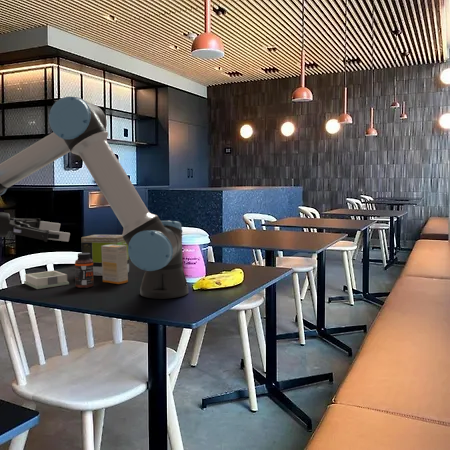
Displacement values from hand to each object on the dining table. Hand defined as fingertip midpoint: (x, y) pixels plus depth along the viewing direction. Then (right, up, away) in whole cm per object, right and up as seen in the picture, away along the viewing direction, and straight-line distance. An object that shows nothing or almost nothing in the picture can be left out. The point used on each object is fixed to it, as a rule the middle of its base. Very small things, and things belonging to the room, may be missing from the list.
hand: (64, 232), depth 162 cm
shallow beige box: (-9, -18, +10) cm, 22 cm away
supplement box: (+14, -18, +12) cm, 26 cm away
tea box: (+7, -16, +27) cm, 32 cm away
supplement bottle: (+5, -19, +5) cm, 20 cm away
